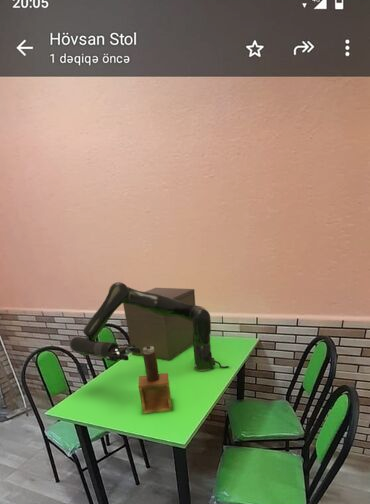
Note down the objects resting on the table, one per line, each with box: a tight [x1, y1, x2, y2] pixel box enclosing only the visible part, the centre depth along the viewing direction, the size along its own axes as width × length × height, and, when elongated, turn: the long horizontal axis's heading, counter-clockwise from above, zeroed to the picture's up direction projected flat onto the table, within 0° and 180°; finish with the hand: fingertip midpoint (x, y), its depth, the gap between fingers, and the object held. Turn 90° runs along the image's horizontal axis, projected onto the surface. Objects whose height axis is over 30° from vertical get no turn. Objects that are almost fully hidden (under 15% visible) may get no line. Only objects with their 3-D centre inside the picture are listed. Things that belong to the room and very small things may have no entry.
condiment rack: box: [138, 372, 173, 414], centre depth 150 cm, size 13×10×14 cm
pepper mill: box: [142, 346, 160, 382], centre depth 143 cm, size 5×5×15 cm
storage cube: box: [122, 287, 196, 361], centre depth 210 cm, size 34×29×34 cm
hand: (133, 354), depth 146 cm, fingers open, 8 cm apart
